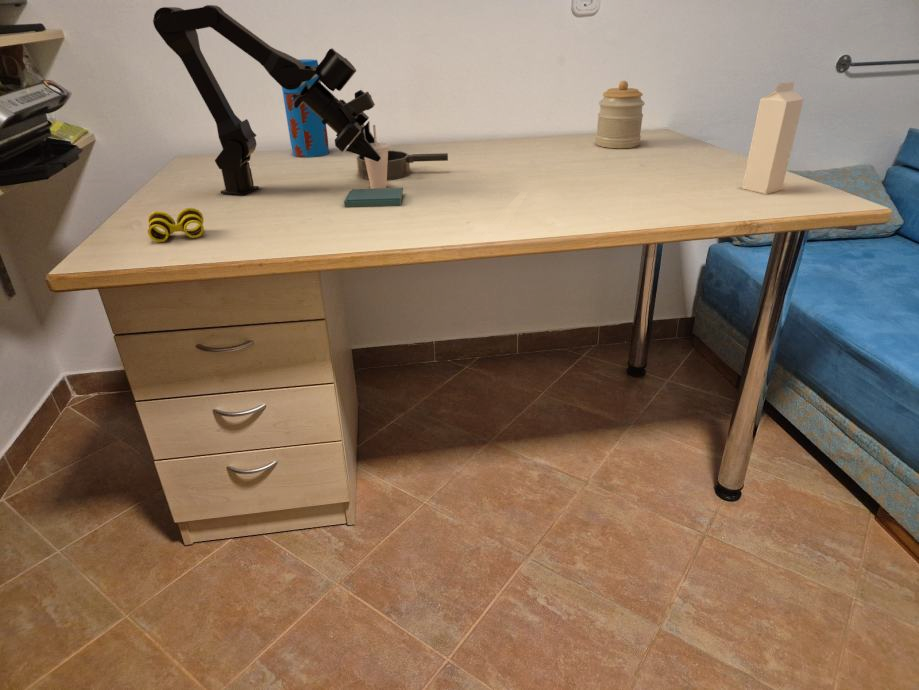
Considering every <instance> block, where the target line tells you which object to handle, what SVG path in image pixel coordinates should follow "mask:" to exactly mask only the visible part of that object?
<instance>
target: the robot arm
mask: <svg viewBox="0 0 919 690" xmlns="http://www.w3.org/2000/svg"><path fill="white" fill-rule="evenodd" d="M152 23H153V27H154V29H155V30H156V32H157V33H158V35H159V36H160V37H161V39H162V40H163V41H164V43H165V44H166V45H167V46H168V47H169V49H171V50H172V51H173V52H174V53H175V54H176V55H177V56H178V58H180V60H181V62H182V63H183V65H184V67H185V69H186V71H187V73H188V74H189V76H190V78H191V80H192V82H193V83H194V85H195V87H196V89H197V91H198V93H199V94H200V96H201V98H202V101H203V102H204V103H205V105H206V107H207V109H208V111H209V112H210V115H211V116H212V118H213V120H214V122H215V124H216V130H217V136H218V140H219V142H220V145H221V148H222V150H221V151H220V152H219V154H218V155H217V156H216V158H215V159H214V162H215V164H216V166H217V167H218V169H219V170H221V174H222V179H223V184H224V188H225V189H222V190H221V191H220V193H221V194H222V195H223V194H224V195H234V196H235V195H237V196H244V195H247V194H250V193H252V192H254V191H256V190H259V189H260V186H259V185H254V179H253V173H252V169H251V166H250V160H251V158H252V157H251V156H252V154H253V153H254V152H255V150H256V148H257V140H256V137H257V134H256V133H255V132H254V131H253V129H252V127H251V124H250V121H249V120H248V119H247V118H246V119H244V120H241V119H240V118H239V117H238V116H237V115H236V113H235V112H234V110H233V109H232V106H231V104H230V103H229V101H228V99H227V97H226V96H225V93H224V92H223V89H222V88H221V86H220V84H219V82H218V80H217V78H216V76H215V74H214V73H213V71H212V69H211V67H210V66H209V63H208V61H207V60H206V58H205V56H204V53H202V50H201V46H200V41H199V40H200V39H199V34H198V32H197V30H203V29H207V28H208V29H209V28H211V29H212V30H214V31H215V32H217V33H218V34H219V35H220V36H222V37H223V38H225V39H226V40H228V41H229V42H230V43H231V44H233V45H234V46H236V47H237V48H238V49H239V50H242V51H243V53H245V54H247V55H248V56H250V57H251V58H253V60H255V61H256V62H258V63H259V64H260V65H261V66H262V67H263V68H264V69H265V71H266V72H267V73H268V75H269V76H270V77H271V78H272V79H273V80H274V81H275V82H276V83H278V85H280V86H281V88H282V87H283V88H285V89H287V90H293V89H296V88H298V87H300V86H302V85H304V83H305V82H306V81H309V80H311V79H313V78H315V77H316V76H317V75H318V76H319V77H318V78H317V80H316V81H315V82H314V83H313V85H312V86H310V85H308V84H306V86H305V87H304V88H303V89H302V91H301V92H300V93H299V94H294V95H293V98H294V107H295V108H298V107H299V106H301V104H302V103H304V104H305V105H307V106H308V107H309V108H310V109H311V110H312V111H313V112H314V113H315V114H316V115H317V116H320V118H321V119H322V123H323V124H324V125H326V126H328V127H329V128H330V129H331V130H332V131H334V132H335V133H336V135H335V136H336V137H335V139H334V146H335V147H336V149H338V150H339V151H340V152H341V153H343V152H344V150H345V152H349V153H352V154H354V155H357V156H358V155H360V156H363V157H366V158H369V159H372V160H374V161H377V162H378V161H379V160H380V159H381V157H380V156H379V155H378V153H377V152H376V151H375V150H374V148H373V147H372V146H371V145H370V143H374V134H372V132H371V126H370V124H371V123H370V120H369V118H370V117H369V116H368V115H367V114H366V113H365V111H369V110H371V109H372V108H374V107H375V105H376V103H375V102H374V100H373V98H372V95H371V94H370V93H369V91H363V90H362V89H359V90H357V91H355V93H354V98H353V99H351V100H350V101H348V102H346V101H345V100H344V99H340V98H337V96H335V95H334V94H333V92H335V90H336V91H338V92H341V91H343V89H344V87H345V86H346V85H347V84H348V83H349V81H350V79H352V77H354V75H355V73H356V72H357V69H356V68H355V66H354V65H353V64H352V63H351V61H349V60H348V59H347V58H346V57H344V56H342V54H340V53H339V52H337V51H336V50H335V49H334V48H333V47H331V48H329V49H328V50H327V52H326V53H325V55H324V58H323V59H322V60H321V61H320V62H319V63H318V66H317V67H315V66H306V65H304V64H303V63H302V62H301V61H299V60H300V59H298V58H296V57H294V56H292V55H290V54H288V53H286V52H284V51H281V50H278V49H276V48H275V47H273V46H271V45H270V44H268V43H267V42H265V40H263V39H261V38H260V37H259V36H258V35H256V34H255V33H253V32H252V31H251V30H249V29H248V28H246V27H245V26H244V25H242V24H241V23H240V22H239V21H237V20H236V19H235V18H233V17H232V16H231V15H229V14H228V13H226V12H225V11H224V10H223V9H222V8H221V7H220V6H218V5H216V4H215V5H214V4H206V5H204V6H201V7H196V8H188V9H183V8H181V7H176V6H164V7H159V8H158V9H156V11H155V13H154V15H153V19H152ZM320 81H321V83H320ZM365 123H366V124H365Z"/></svg>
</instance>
